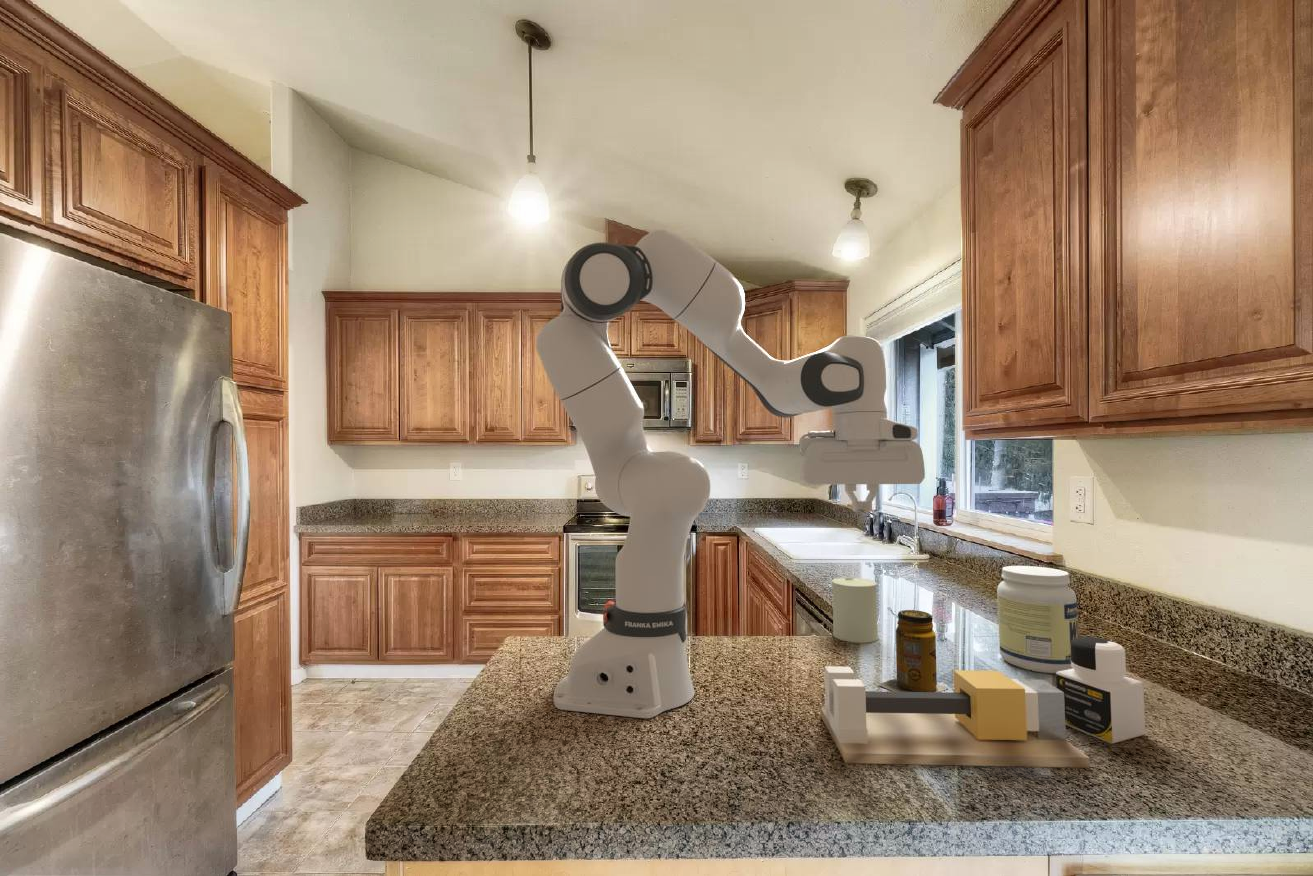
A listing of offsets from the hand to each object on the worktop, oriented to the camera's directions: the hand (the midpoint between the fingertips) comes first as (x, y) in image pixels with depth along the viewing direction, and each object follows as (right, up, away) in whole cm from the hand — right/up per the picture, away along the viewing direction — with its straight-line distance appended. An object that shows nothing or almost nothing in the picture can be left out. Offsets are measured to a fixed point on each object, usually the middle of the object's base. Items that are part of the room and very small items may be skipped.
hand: (862, 511), depth 98 cm
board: (+3, -28, -22) cm, 35 cm away
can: (+7, -30, +24) cm, 39 cm away
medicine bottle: (+26, -28, -19) cm, 43 cm away
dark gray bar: (+2, -24, -22) cm, 32 cm away
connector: (+16, -26, -23) cm, 38 cm away
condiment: (+7, -29, -4) cm, 30 cm away
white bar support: (-10, -27, -21) cm, 35 cm away
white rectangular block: (+13, -25, -22) cm, 36 cm away
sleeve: (+9, -26, -22) cm, 35 cm away
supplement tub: (+34, -29, +6) cm, 45 cm away
